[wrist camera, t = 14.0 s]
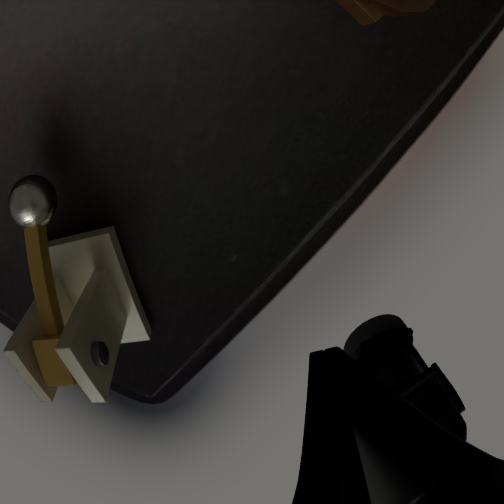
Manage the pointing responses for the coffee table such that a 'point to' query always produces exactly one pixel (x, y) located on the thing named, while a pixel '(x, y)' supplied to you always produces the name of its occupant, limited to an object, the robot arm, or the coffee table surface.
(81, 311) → the bracket
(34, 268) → the lever
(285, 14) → the coffee table surface
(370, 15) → the button box
